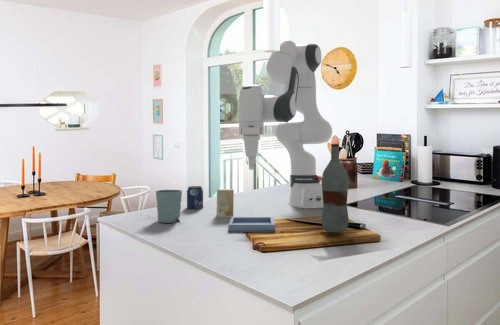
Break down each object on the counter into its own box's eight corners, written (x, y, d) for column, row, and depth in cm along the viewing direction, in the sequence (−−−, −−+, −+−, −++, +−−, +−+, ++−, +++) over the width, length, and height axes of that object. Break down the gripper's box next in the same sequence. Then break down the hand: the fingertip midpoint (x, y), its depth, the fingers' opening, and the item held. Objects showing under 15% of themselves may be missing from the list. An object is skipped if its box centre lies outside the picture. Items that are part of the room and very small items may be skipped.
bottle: (331, 233, 145) (331, 143, 143) (316, 228, 153) (316, 144, 152) (354, 231, 149) (354, 143, 147) (337, 226, 157) (338, 144, 156)
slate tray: (273, 223, 164) (273, 216, 164) (275, 231, 148) (275, 224, 148) (231, 223, 164) (231, 217, 164) (228, 231, 148) (228, 224, 148)
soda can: (198, 215, 183) (198, 187, 183) (184, 215, 186) (183, 187, 185) (205, 213, 190) (205, 186, 189) (191, 212, 192) (191, 185, 192)
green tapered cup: (151, 222, 169) (150, 191, 168) (165, 218, 178) (164, 189, 178) (173, 223, 165) (173, 192, 165) (186, 219, 175) (186, 189, 174)
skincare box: (218, 220, 171) (218, 189, 170) (216, 219, 175) (215, 188, 175) (234, 219, 173) (234, 189, 172) (231, 218, 177) (231, 188, 176)
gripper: (243, 131, 165) (243, 167, 166) (241, 129, 145) (242, 170, 146) (260, 130, 165) (260, 166, 166) (260, 129, 145) (260, 170, 145)
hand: (251, 168), depth 156 cm, fingers open, 8 cm apart
